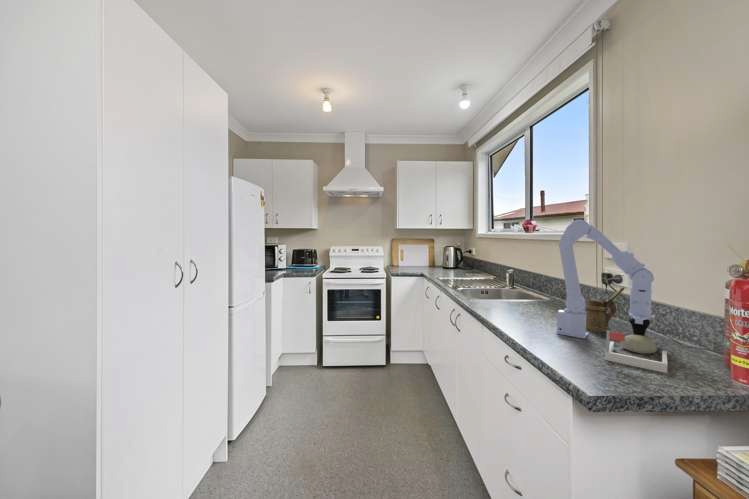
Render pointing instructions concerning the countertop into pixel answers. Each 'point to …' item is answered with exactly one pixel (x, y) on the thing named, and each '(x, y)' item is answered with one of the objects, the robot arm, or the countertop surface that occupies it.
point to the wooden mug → (600, 313)
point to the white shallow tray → (630, 359)
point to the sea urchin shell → (639, 344)
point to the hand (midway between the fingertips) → (638, 339)
